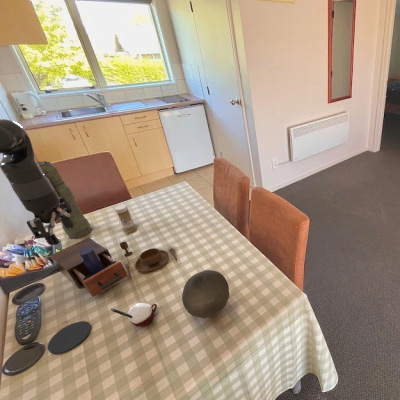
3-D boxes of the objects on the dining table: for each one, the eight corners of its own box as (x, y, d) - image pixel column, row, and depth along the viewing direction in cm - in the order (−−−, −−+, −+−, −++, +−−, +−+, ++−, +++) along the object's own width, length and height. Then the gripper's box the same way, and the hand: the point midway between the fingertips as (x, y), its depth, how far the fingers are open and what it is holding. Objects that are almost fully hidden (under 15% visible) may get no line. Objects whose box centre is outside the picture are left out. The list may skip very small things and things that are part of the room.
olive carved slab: (71, 243, 117) (26, 170, 100) (66, 232, 124) (23, 163, 107) (95, 233, 123) (56, 163, 105) (89, 224, 130) (51, 156, 112)
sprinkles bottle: (125, 235, 122) (114, 210, 115) (126, 230, 125) (114, 206, 119) (137, 232, 124) (126, 207, 117) (137, 227, 128) (126, 203, 121)
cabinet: (116, 266, 105) (107, 249, 100) (79, 288, 95) (66, 270, 91) (99, 254, 111) (89, 237, 107) (62, 273, 102) (49, 255, 97)
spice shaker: (98, 283, 95) (81, 256, 88) (92, 279, 96) (75, 252, 90) (111, 276, 98) (95, 249, 91) (105, 272, 100) (90, 245, 93)
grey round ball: (179, 327, 82) (164, 294, 74) (202, 290, 94) (192, 259, 86) (222, 332, 80) (211, 299, 73) (240, 294, 92) (233, 263, 85)
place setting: (129, 283, 97) (123, 271, 94) (122, 254, 111) (116, 243, 108) (180, 261, 107) (176, 250, 104) (167, 237, 120) (163, 227, 117)
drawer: (134, 280, 97) (126, 265, 94) (99, 302, 89) (89, 287, 85) (110, 263, 105) (102, 249, 102) (75, 282, 97) (66, 267, 93)
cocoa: (158, 307, 88) (146, 282, 82) (162, 321, 84) (149, 295, 78) (125, 323, 83) (109, 297, 77) (127, 338, 79) (110, 312, 73)
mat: (56, 360, 73) (55, 359, 73) (42, 343, 78) (41, 341, 78) (97, 331, 81) (96, 330, 81) (82, 317, 85) (81, 315, 85)
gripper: (36, 181, 82) (61, 223, 90) (1, 206, 70) (34, 252, 78) (64, 179, 83) (87, 221, 92) (35, 203, 71) (64, 248, 80)
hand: (63, 235), depth 85 cm, fingers open, 8 cm apart
